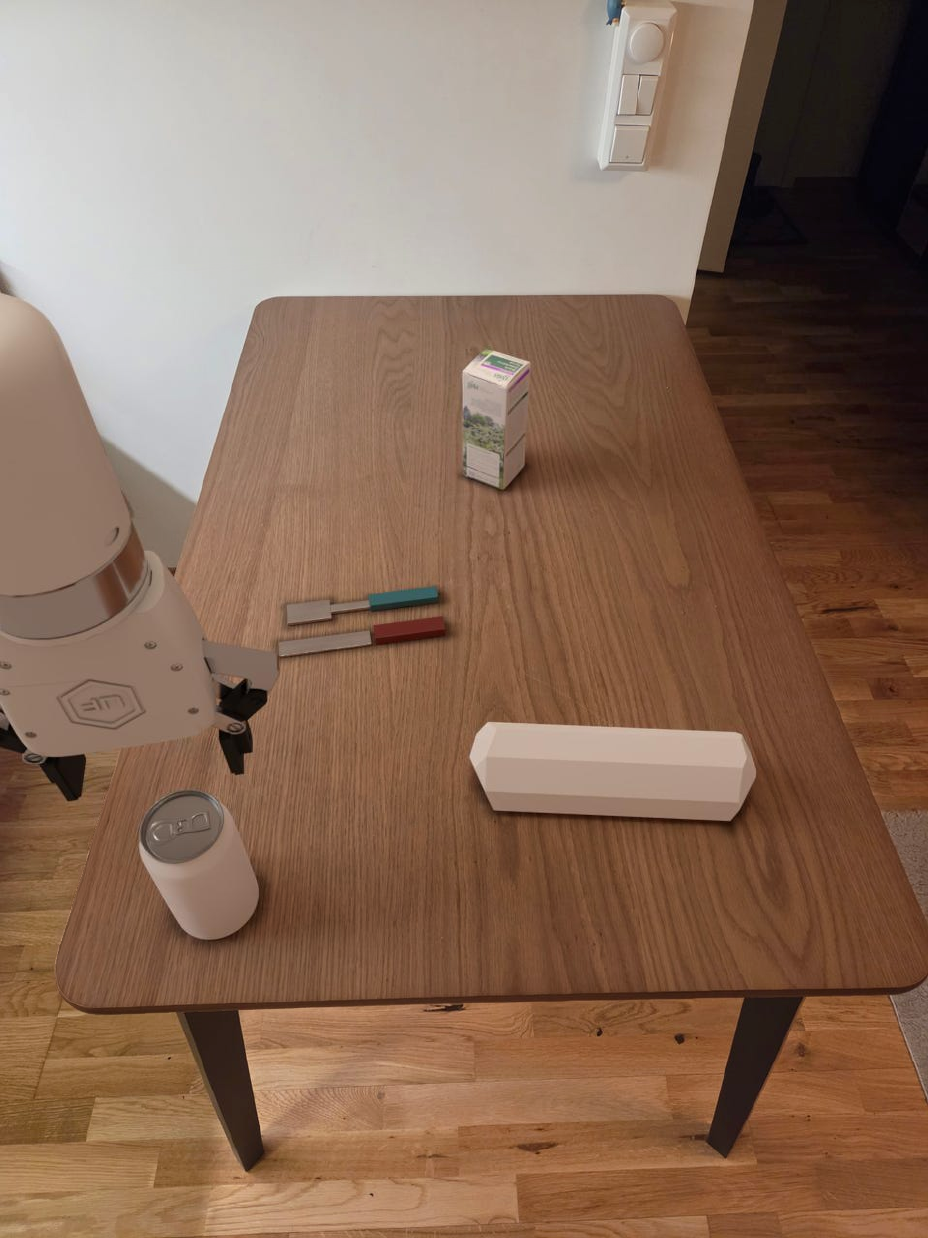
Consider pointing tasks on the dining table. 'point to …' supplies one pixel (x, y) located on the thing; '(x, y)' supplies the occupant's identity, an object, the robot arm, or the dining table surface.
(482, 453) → the syrup box
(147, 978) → the dining table surface
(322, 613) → the teal handled spatula
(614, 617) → the dining table surface
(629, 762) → the crystal
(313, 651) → the knife
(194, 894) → the can
